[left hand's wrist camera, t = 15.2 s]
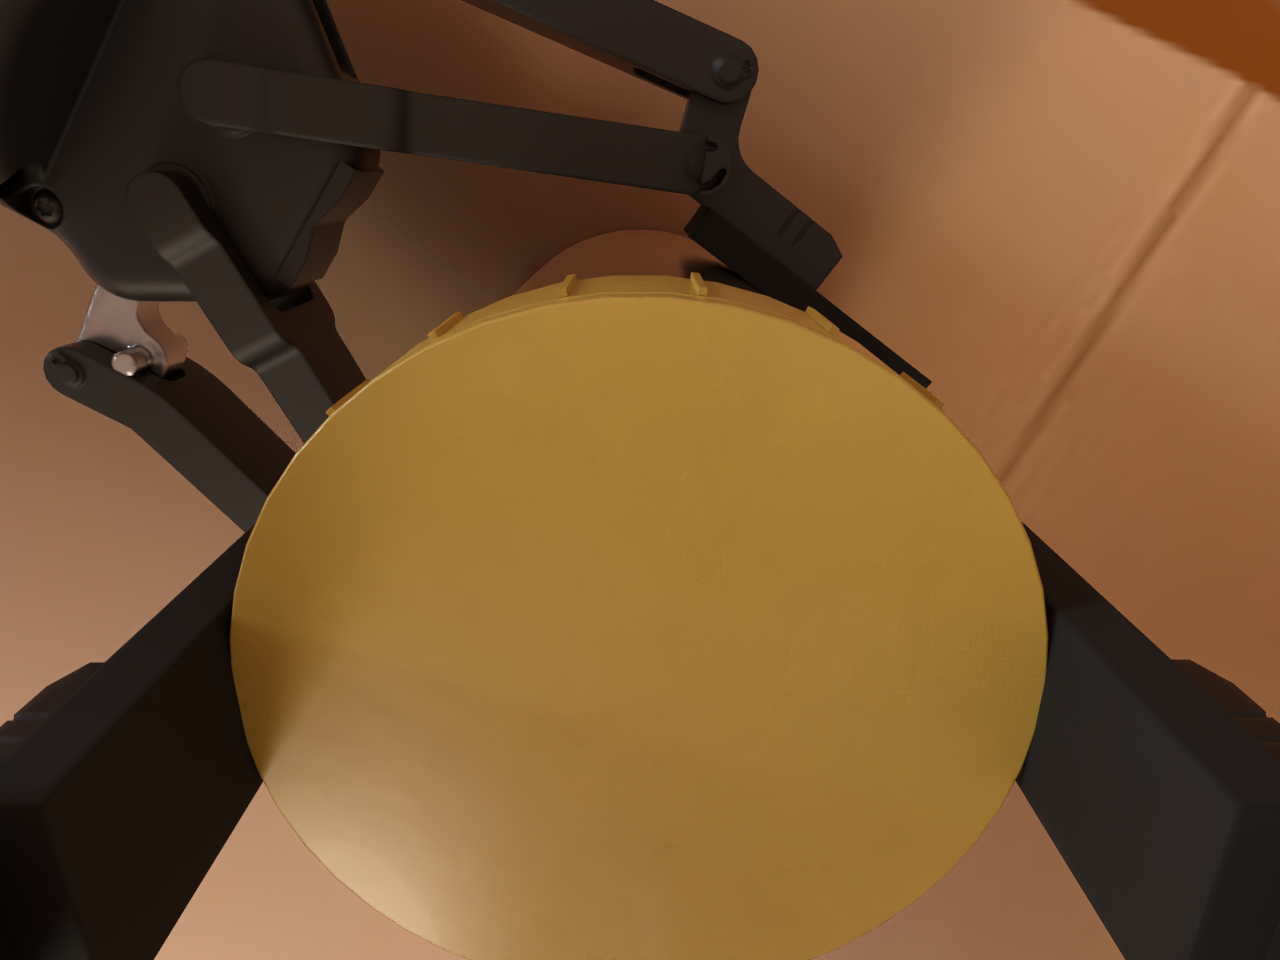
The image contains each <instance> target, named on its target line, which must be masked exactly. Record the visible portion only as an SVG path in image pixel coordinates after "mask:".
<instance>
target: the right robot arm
mask: <svg viewBox="0 0 1280 960" xmlns="http://www.w3.org/2000/svg"><path fill="white" fill-rule="evenodd" d="M462 1H465V2H467V3H469V4H471V5H474V6H476V7H478V8H480V9H483V10H485V11H487V12H490V13H492V14H494V15H496V16H499V17H501V18H503V19H505V20H508V21H510V22H512V23H515V24H517V25H519V26H521V27H524V28H526V29H528V30H530V31H533V32H535V33H537V34H540V35H542V36H544V37H546V38H549V39H551V40H553V41H555V42H558V43H560V44H562V45H565V46H567V47H569V48H571V49H574V50H576V51H578V52H580V53H583V54H585V55H587V56H590V57H592V58H594V59H596V60H599V61H601V62H603V63H605V64H608V65H610V66H612V67H615V68H617V69H619V70H621V71H624V72H626V73H628V74H630V75H633V76H635V77H637V78H640V79H642V80H644V81H646V82H649V83H651V84H653V85H655V86H658V87H660V88H662V89H665V90H667V91H669V92H671V93H674V94H676V95H678V96H680V97H683V98H685V99H687V100H688V102H687V105H686V109H685V112H684V116H683V119H682V123H681V126H680V130H679V132H675V131H669V130H662V129H655V128H649V127H642V126H636V125H629V124H622V123H616V122H609V121H602V120H596V119H589V118H582V117H576V116H569V115H562V114H556V113H549V112H543V111H536V110H529V109H523V108H516V107H509V106H503V105H496V104H489V103H483V102H476V101H469V100H463V99H456V98H450V97H443V96H436V95H430V94H423V93H417V92H411V91H406V90H401V89H396V88H390V87H384V86H378V85H372V84H365V83H359V81H358V78H357V76H356V73H355V71H354V68H353V66H352V63H351V61H350V59H349V56H348V54H347V51H346V49H345V46H344V44H343V41H342V39H341V36H340V34H339V31H338V29H337V26H336V24H335V22H334V19H333V17H332V14H331V12H330V9H329V7H328V4H327V2H326V0H0V204H1V205H3V206H4V207H6V208H8V209H10V210H12V211H14V212H16V213H18V214H20V215H22V216H24V217H26V218H28V219H30V220H32V221H34V222H36V223H38V224H39V225H41V226H43V227H45V228H47V229H48V230H50V231H51V232H53V233H54V234H55V235H56V236H58V237H59V238H60V239H61V240H62V241H63V242H64V243H65V244H66V245H67V247H68V248H69V249H70V250H71V251H72V252H73V254H74V255H75V256H76V258H77V259H78V260H79V262H80V263H81V265H82V266H83V268H84V269H85V271H86V272H87V274H88V275H89V276H90V277H91V278H92V279H93V280H94V281H95V282H96V283H97V285H96V287H95V290H94V293H93V296H92V299H91V302H90V305H89V308H88V311H87V314H86V317H85V319H84V322H83V325H82V328H81V331H80V334H79V337H78V339H77V341H76V342H75V343H71V344H68V345H65V346H61V347H58V348H56V349H54V350H52V351H50V352H49V353H48V355H47V356H46V358H45V359H44V372H45V375H46V378H47V380H48V381H49V383H50V384H51V385H52V387H53V388H55V389H56V390H57V391H59V392H60V393H62V394H63V395H65V396H67V397H69V398H71V399H73V400H75V401H77V402H79V403H81V404H83V405H85V406H87V407H89V408H91V409H93V410H95V411H97V412H99V413H101V414H103V415H105V416H107V417H109V418H111V419H113V420H115V421H117V422H119V423H121V424H123V425H125V426H127V427H129V428H131V429H133V430H134V431H135V432H136V433H137V434H138V435H139V436H140V437H141V438H142V439H144V440H145V441H146V442H147V443H148V444H149V445H150V446H151V447H152V448H153V449H154V450H156V451H157V452H158V453H159V454H160V455H161V456H162V457H163V458H164V459H165V460H166V461H168V462H169V463H170V464H171V465H172V466H173V467H174V468H175V469H176V470H177V471H179V472H180V473H181V474H182V475H183V476H184V477H185V478H186V479H187V480H188V481H189V482H191V483H192V484H193V485H194V486H195V487H196V488H197V489H198V490H199V491H200V492H201V493H203V494H204V495H205V496H206V497H207V498H208V499H209V500H210V501H211V502H212V503H214V504H215V505H216V506H217V507H218V508H219V509H220V510H221V511H222V512H223V513H224V514H226V515H227V516H228V517H229V518H230V519H231V520H232V521H233V522H234V523H235V524H236V525H238V526H239V527H240V528H241V529H242V530H243V531H244V532H245V533H246V532H247V531H248V530H249V529H250V528H251V527H252V526H253V525H254V524H255V523H256V522H257V519H258V517H259V515H260V513H261V510H262V508H263V506H264V503H265V501H266V499H267V497H268V496H269V494H270V493H271V491H272V490H273V488H274V487H275V485H276V483H277V482H278V480H279V479H280V477H281V476H282V474H283V473H284V471H285V469H286V468H287V466H288V465H289V463H290V462H291V460H292V459H293V457H294V455H295V454H296V453H295V452H294V451H293V450H292V449H291V448H290V447H289V446H288V445H287V444H286V443H285V442H283V441H282V440H281V439H280V438H279V437H278V436H277V435H276V434H275V433H274V432H273V431H272V430H271V429H270V428H269V427H268V426H267V425H266V424H265V423H264V422H263V421H262V420H261V419H260V418H259V417H258V416H257V415H256V414H255V413H254V412H253V411H252V410H251V409H249V408H248V407H247V406H246V405H245V404H244V403H243V402H242V401H241V400H240V399H239V398H238V397H237V396H236V395H235V394H234V393H233V392H232V391H231V390H230V389H229V388H228V387H227V386H226V385H224V384H223V383H222V382H221V381H220V380H219V379H218V378H216V377H215V376H214V375H213V374H211V373H210V372H209V371H207V370H206V369H205V368H203V367H202V366H200V365H199V364H198V363H196V362H194V361H192V360H191V359H189V358H187V357H186V352H187V351H188V343H187V340H186V339H185V338H184V337H183V336H181V335H180V334H177V333H174V332H173V331H172V330H170V329H169V328H168V327H167V326H166V325H165V323H164V322H163V321H162V319H161V317H160V314H159V310H158V302H159V301H197V303H198V304H199V306H200V307H201V309H202V310H203V312H204V313H205V315H206V316H207V318H208V319H209V321H210V322H211V324H212V325H213V327H214V328H215V330H216V331H217V333H218V334H219V336H220V337H221V339H222V340H223V342H224V343H225V345H226V346H227V348H228V349H229V351H230V352H231V353H232V354H233V356H234V357H235V358H236V359H237V360H238V361H239V362H241V363H242V364H243V365H246V366H248V367H250V368H252V369H254V370H255V371H256V372H257V373H258V375H259V376H260V377H261V379H262V380H263V382H264V383H265V385H266V386H267V388H268V389H269V391H270V392H271V394H272V395H273V397H274V398H275V400H276V402H277V403H278V405H279V406H280V408H281V409H282V411H283V412H284V414H285V415H286V417H287V418H288V420H289V421H290V423H291V424H292V426H293V427H294V429H295V430H296V432H297V433H298V435H299V436H300V438H301V439H302V441H303V442H304V444H305V443H306V442H307V441H308V440H309V438H310V437H311V436H312V435H313V434H314V433H315V432H316V431H317V429H318V428H319V427H320V426H321V425H322V424H323V423H324V422H325V420H326V419H327V418H328V417H329V416H328V415H327V414H326V412H327V410H328V409H329V408H330V407H331V406H333V405H334V404H335V403H337V402H338V401H339V400H341V399H342V398H343V397H345V396H346V395H347V394H348V393H350V392H351V391H352V390H354V389H355V388H356V387H358V386H359V385H360V384H361V383H363V382H364V381H365V380H366V378H365V376H364V375H363V373H362V371H361V370H360V368H359V367H358V365H357V363H356V362H355V360H354V358H353V357H352V355H351V354H350V352H349V350H348V349H347V347H346V345H345V344H344V342H343V341H342V339H341V337H340V336H339V334H338V332H337V330H336V327H335V317H334V314H333V311H332V309H331V307H330V305H329V303H328V302H327V300H326V299H325V297H324V295H323V294H322V292H321V290H320V289H319V287H318V285H317V284H316V282H315V281H314V280H317V279H320V278H323V276H324V275H325V273H326V271H327V269H328V268H329V266H330V264H331V262H332V261H333V259H334V257H335V255H336V254H337V251H338V247H339V243H340V239H341V235H342V231H343V227H344V223H345V220H346V219H347V218H348V217H349V216H350V215H351V214H352V213H353V212H354V211H355V210H356V209H357V208H358V207H360V206H361V205H362V204H363V203H364V202H365V201H366V200H367V199H368V198H369V196H370V195H371V193H372V191H373V189H374V188H375V186H376V184H377V182H378V181H379V179H380V177H381V176H382V174H383V172H384V170H382V169H381V168H379V167H378V165H379V160H380V150H385V151H393V152H400V153H408V154H415V155H422V156H429V157H436V158H443V159H450V160H456V161H463V162H470V163H477V164H484V165H490V166H497V167H504V168H511V169H518V170H524V171H531V172H538V173H545V174H552V175H559V176H565V177H572V178H579V179H586V180H593V181H599V182H606V183H613V184H620V185H627V186H633V187H640V188H647V189H654V190H661V191H668V192H674V193H681V194H688V195H689V196H690V197H692V198H693V199H694V200H696V201H697V202H698V203H699V204H701V206H700V207H699V209H698V210H697V211H696V213H695V214H694V216H693V217H692V218H691V220H690V221H689V223H688V224H687V225H686V227H685V228H684V230H685V232H686V233H687V235H688V236H689V237H690V238H691V239H692V240H693V241H695V242H696V243H697V244H699V245H700V246H701V247H703V248H704V249H705V250H706V251H708V252H709V253H710V254H712V255H713V256H714V257H716V258H717V259H718V260H719V261H721V262H722V263H723V264H725V265H726V266H727V267H729V268H730V269H731V270H732V271H734V272H735V273H736V274H738V275H739V276H740V277H741V278H743V279H744V280H745V281H747V282H748V283H749V284H751V285H752V286H753V287H754V288H756V289H757V290H758V291H760V292H761V293H762V294H764V295H765V296H768V297H771V298H773V299H775V300H778V301H780V302H782V303H785V304H787V305H789V306H792V307H794V308H797V309H799V310H801V311H804V312H805V311H806V309H807V308H808V306H809V307H811V308H813V309H815V310H816V311H818V312H819V313H820V314H821V315H823V316H824V317H825V318H826V319H828V320H829V321H830V322H831V323H833V324H834V325H835V326H836V327H838V328H839V329H840V330H839V331H840V332H842V333H843V334H845V335H847V336H848V337H850V338H852V339H853V340H855V341H857V342H858V343H859V344H861V345H862V346H863V347H864V348H866V349H867V350H868V351H869V352H871V353H872V354H873V355H874V356H876V357H877V358H878V359H879V360H881V361H882V362H883V363H885V364H886V365H887V366H888V367H890V368H891V369H892V370H893V371H895V372H896V373H897V374H898V375H900V374H901V373H902V372H904V373H906V374H907V375H908V376H910V377H911V378H912V379H914V380H915V381H916V382H917V383H919V384H920V385H921V386H923V387H924V388H925V389H926V388H927V387H928V386H929V385H930V384H931V383H932V382H931V381H930V380H929V379H928V378H926V377H925V376H924V375H922V374H921V373H920V372H919V371H917V370H916V369H915V368H914V367H912V366H911V365H910V364H908V363H907V362H906V361H905V360H903V359H902V358H901V357H900V356H898V355H897V354H896V353H894V352H893V351H892V350H891V349H889V348H888V347H887V346H886V345H884V344H883V343H882V342H880V341H879V340H878V339H877V338H875V337H874V336H873V335H872V334H870V333H869V332H868V331H866V330H865V329H864V328H863V327H861V326H860V325H859V324H858V323H856V322H855V321H854V320H852V319H851V318H850V317H849V316H847V315H846V314H845V313H843V312H842V311H841V310H840V309H838V308H837V307H836V306H835V305H833V304H832V303H831V302H829V301H828V300H827V299H826V298H824V297H823V296H822V295H821V294H819V293H818V292H817V291H816V290H817V288H818V287H819V286H820V285H821V283H822V282H823V281H824V279H825V278H826V277H827V276H828V274H829V273H830V272H831V271H832V269H833V268H834V267H835V266H836V264H837V263H838V262H839V261H840V259H841V258H842V257H843V256H842V254H841V252H840V250H839V248H838V247H837V245H836V243H835V241H834V239H833V237H832V235H830V234H829V233H828V232H827V231H825V230H824V229H823V228H822V227H821V226H819V225H818V224H817V223H816V222H814V221H813V220H812V219H810V218H809V217H808V216H807V215H806V214H804V213H803V212H802V211H801V210H799V209H798V208H797V207H796V206H795V205H793V204H792V203H791V202H790V201H788V200H787V199H786V198H785V197H783V196H782V195H781V194H780V193H778V192H777V191H776V190H775V189H774V188H772V187H771V186H770V185H769V184H767V183H766V182H765V181H764V180H762V179H761V178H760V177H759V176H757V175H756V174H755V173H754V172H752V171H751V170H750V169H749V167H748V166H747V165H746V164H745V163H744V161H743V159H742V157H741V154H740V151H739V146H738V136H739V130H740V126H741V123H742V120H743V116H744V113H745V110H746V107H747V103H748V100H749V97H750V93H751V90H752V88H753V87H754V85H755V84H756V80H757V76H758V71H759V70H758V63H757V57H756V56H755V54H754V52H753V50H752V49H751V47H750V46H748V45H747V44H746V43H744V42H743V41H742V40H740V39H737V38H735V37H733V36H731V35H729V34H726V33H724V32H722V31H720V30H718V29H715V28H713V27H711V26H709V25H707V24H704V23H702V22H700V21H698V20H696V19H693V18H691V17H689V16H687V15H685V14H682V13H680V12H678V11H676V10H674V9H671V8H669V7H667V6H665V5H663V4H660V3H658V2H656V1H654V0H462Z"/></svg>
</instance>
